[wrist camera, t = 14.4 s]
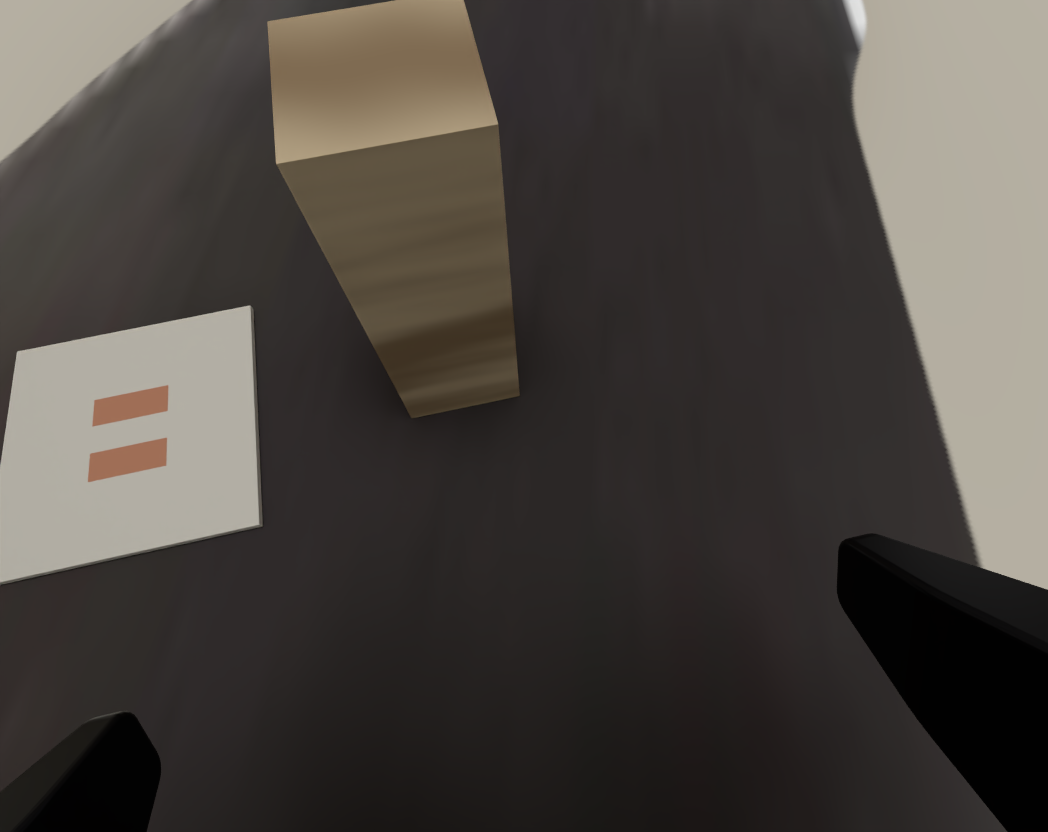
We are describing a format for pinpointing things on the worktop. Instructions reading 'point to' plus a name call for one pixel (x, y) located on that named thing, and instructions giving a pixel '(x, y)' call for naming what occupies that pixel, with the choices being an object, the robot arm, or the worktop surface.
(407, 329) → the oak block
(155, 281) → the worktop surface
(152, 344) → the card
